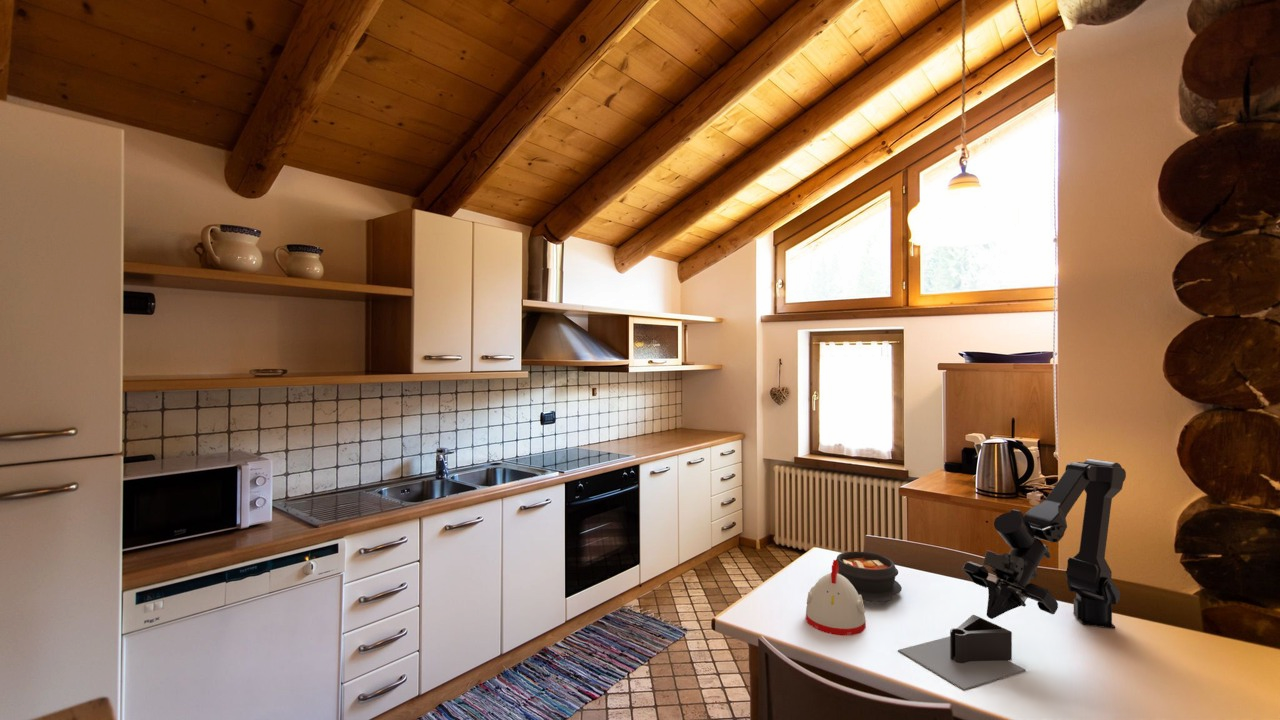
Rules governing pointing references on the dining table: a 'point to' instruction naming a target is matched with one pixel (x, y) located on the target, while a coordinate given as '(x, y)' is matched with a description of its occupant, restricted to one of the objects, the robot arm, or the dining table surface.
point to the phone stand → (980, 641)
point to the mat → (958, 665)
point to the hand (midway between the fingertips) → (989, 617)
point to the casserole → (870, 575)
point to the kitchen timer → (835, 605)
